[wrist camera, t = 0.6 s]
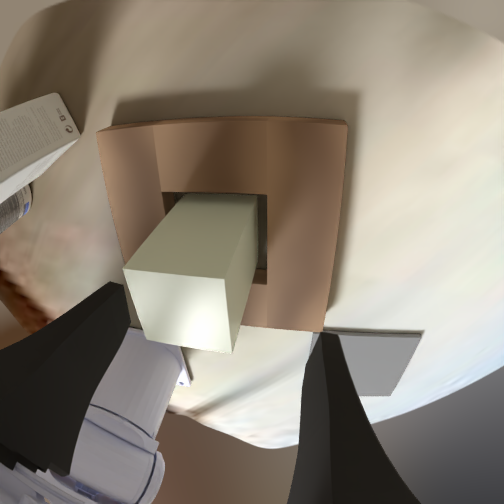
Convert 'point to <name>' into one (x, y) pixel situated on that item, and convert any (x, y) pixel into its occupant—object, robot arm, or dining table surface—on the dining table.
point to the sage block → (197, 271)
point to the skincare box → (32, 140)
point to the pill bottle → (15, 207)
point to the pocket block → (240, 181)
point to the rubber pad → (375, 359)
